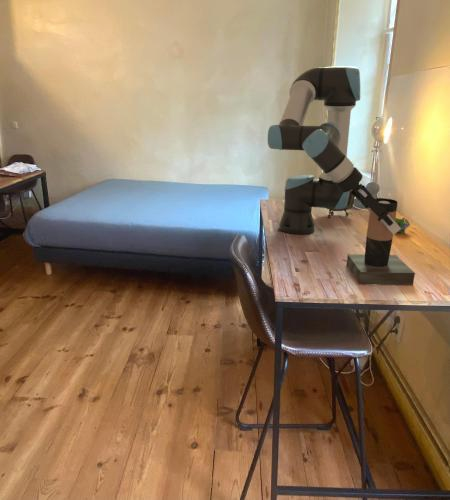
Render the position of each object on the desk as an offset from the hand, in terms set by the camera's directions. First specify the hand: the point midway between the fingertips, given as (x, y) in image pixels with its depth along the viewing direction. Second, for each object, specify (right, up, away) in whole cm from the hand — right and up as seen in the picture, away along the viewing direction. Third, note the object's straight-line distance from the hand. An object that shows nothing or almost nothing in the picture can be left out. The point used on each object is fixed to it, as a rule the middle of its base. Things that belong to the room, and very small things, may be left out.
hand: (390, 225), depth 131 cm
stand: (-2, -15, +5) cm, 16 cm away
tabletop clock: (+3, +9, +77) cm, 78 cm away
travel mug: (-3, -12, +4) cm, 13 cm away
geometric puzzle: (+23, 0, +50) cm, 55 cm away
